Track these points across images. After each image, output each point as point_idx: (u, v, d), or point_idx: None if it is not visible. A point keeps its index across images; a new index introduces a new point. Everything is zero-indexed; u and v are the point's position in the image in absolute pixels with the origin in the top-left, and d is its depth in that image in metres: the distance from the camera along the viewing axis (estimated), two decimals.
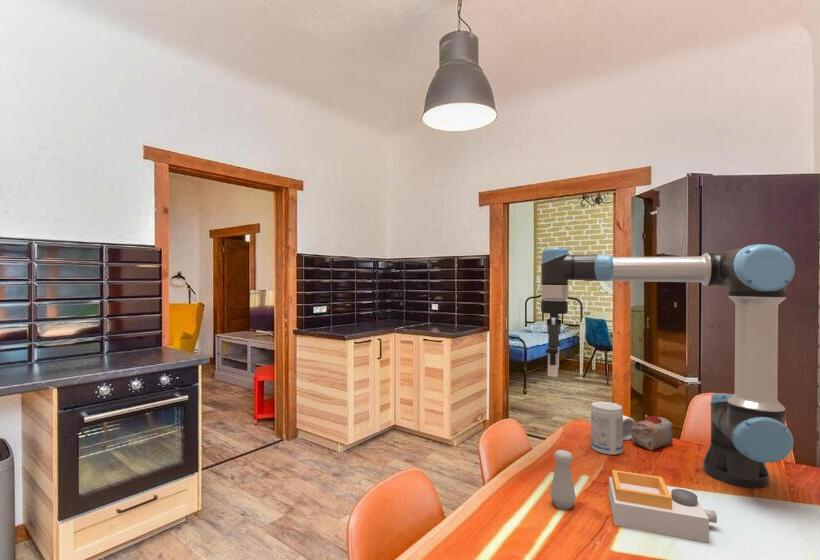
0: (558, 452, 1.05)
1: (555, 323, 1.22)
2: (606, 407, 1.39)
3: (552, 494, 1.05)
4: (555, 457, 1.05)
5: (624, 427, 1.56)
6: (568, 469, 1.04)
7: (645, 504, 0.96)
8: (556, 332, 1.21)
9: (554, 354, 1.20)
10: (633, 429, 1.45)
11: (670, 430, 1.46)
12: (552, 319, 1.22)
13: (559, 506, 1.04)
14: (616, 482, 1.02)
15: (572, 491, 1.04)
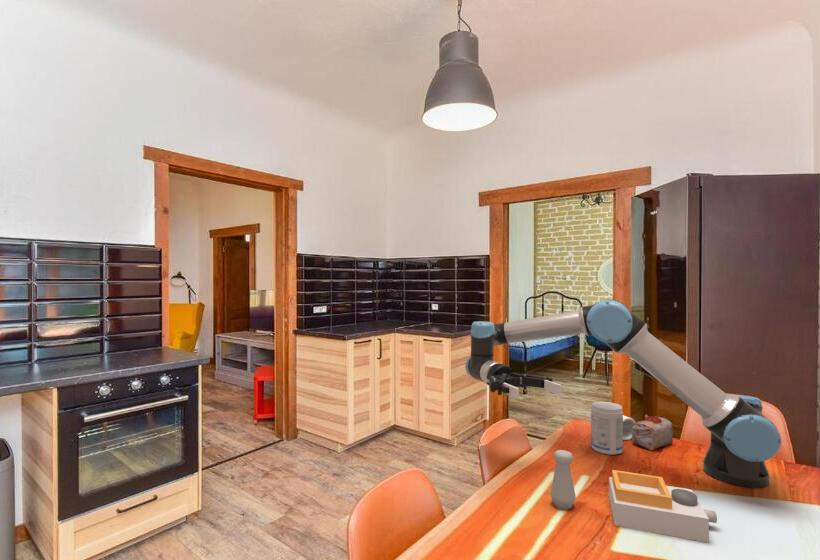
0: (558, 452, 1.05)
1: (488, 379, 1.26)
2: (606, 407, 1.39)
3: (552, 494, 1.05)
4: (555, 457, 1.05)
5: (624, 427, 1.56)
6: (568, 469, 1.04)
7: (645, 504, 0.96)
8: (489, 380, 1.24)
9: (499, 386, 1.18)
10: (633, 429, 1.45)
11: (670, 430, 1.46)
12: (486, 381, 1.28)
13: (559, 506, 1.04)
14: (616, 482, 1.02)
15: (572, 491, 1.04)
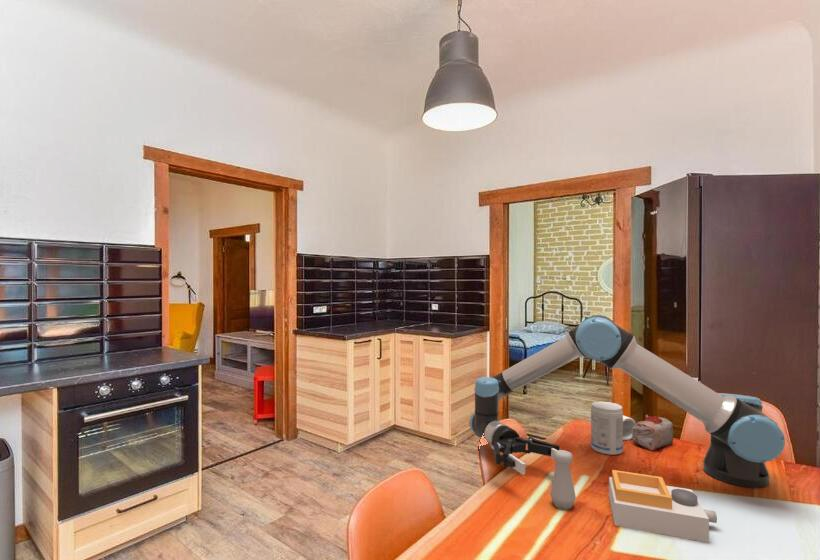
0: (558, 452, 1.05)
1: (493, 445, 1.23)
2: (606, 407, 1.39)
3: (552, 494, 1.05)
4: (555, 457, 1.05)
5: (624, 427, 1.56)
6: (568, 469, 1.04)
7: (645, 504, 0.96)
8: (494, 448, 1.20)
9: (504, 458, 1.14)
10: (634, 429, 1.45)
11: (671, 430, 1.46)
12: (491, 447, 1.24)
13: (559, 506, 1.04)
14: (616, 482, 1.02)
15: (572, 491, 1.04)
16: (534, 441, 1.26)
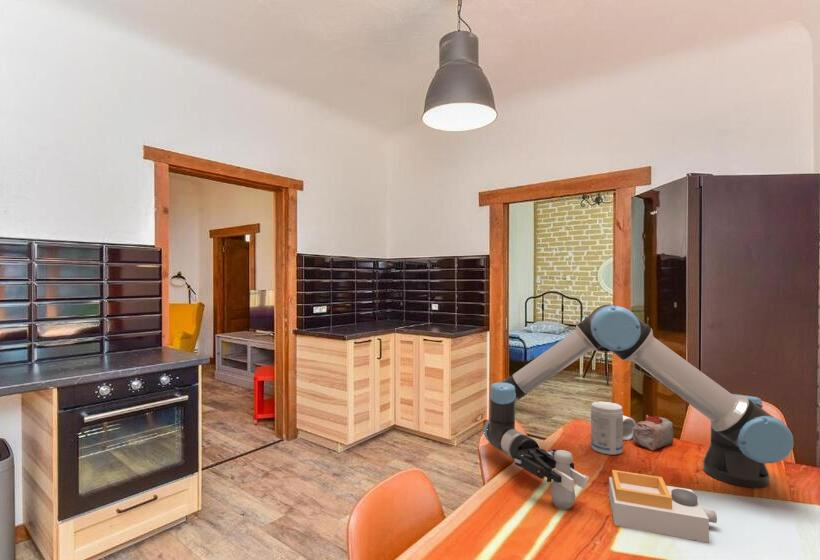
0: (558, 452, 1.05)
1: (519, 459, 1.13)
2: (606, 407, 1.39)
3: (552, 494, 1.05)
4: (555, 457, 1.05)
5: (624, 427, 1.56)
6: (568, 469, 1.04)
7: (645, 504, 0.96)
8: (526, 462, 1.10)
9: (549, 472, 1.05)
10: (634, 429, 1.45)
11: (671, 430, 1.46)
12: (515, 461, 1.13)
13: (559, 506, 1.04)
14: (616, 482, 1.02)
15: (572, 491, 1.04)
16: None
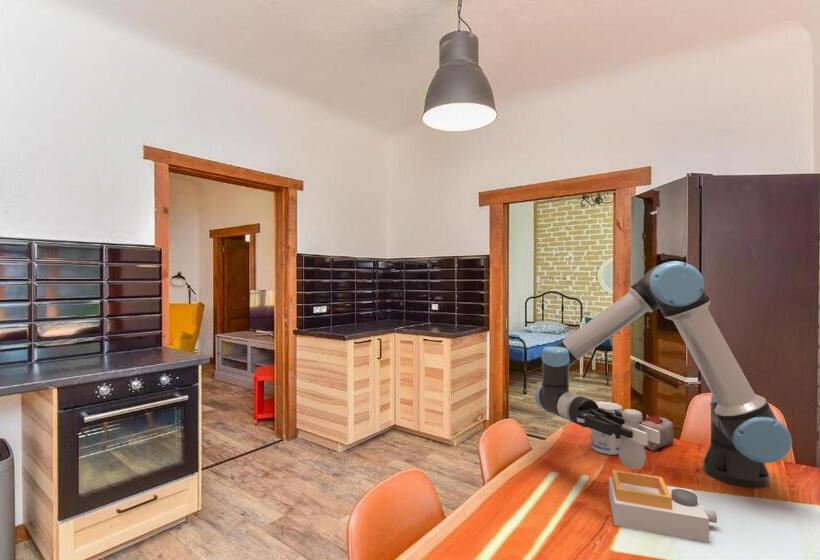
0: (627, 411, 1.02)
1: (582, 418, 1.09)
2: (606, 407, 1.39)
3: (621, 454, 1.02)
4: (624, 416, 1.02)
5: None
6: (638, 428, 1.01)
7: (645, 504, 0.96)
8: (591, 420, 1.07)
9: (618, 429, 1.02)
10: None
11: (671, 430, 1.46)
12: (578, 420, 1.10)
13: (629, 466, 1.01)
14: (616, 482, 1.02)
15: (643, 450, 1.00)
16: (617, 414, 1.12)
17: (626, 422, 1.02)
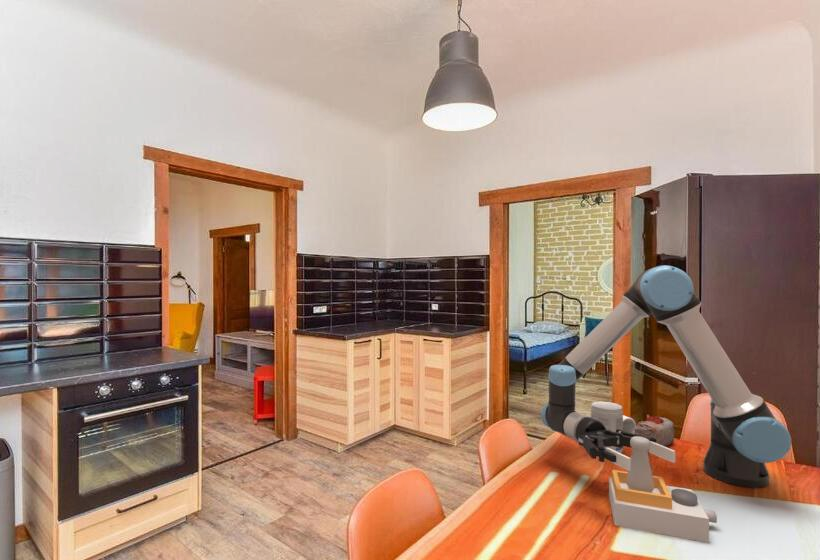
0: (635, 438, 1.02)
1: (581, 438, 1.10)
2: (606, 407, 1.39)
3: (629, 482, 1.01)
4: (632, 443, 1.01)
5: (624, 427, 1.56)
6: (646, 456, 1.00)
7: (645, 504, 0.96)
8: (585, 441, 1.08)
9: (602, 452, 1.02)
10: (636, 430, 1.45)
11: (672, 430, 1.46)
12: (578, 440, 1.11)
13: None
14: (616, 482, 1.02)
15: (651, 478, 1.00)
16: (624, 434, 1.13)
17: (634, 450, 1.02)
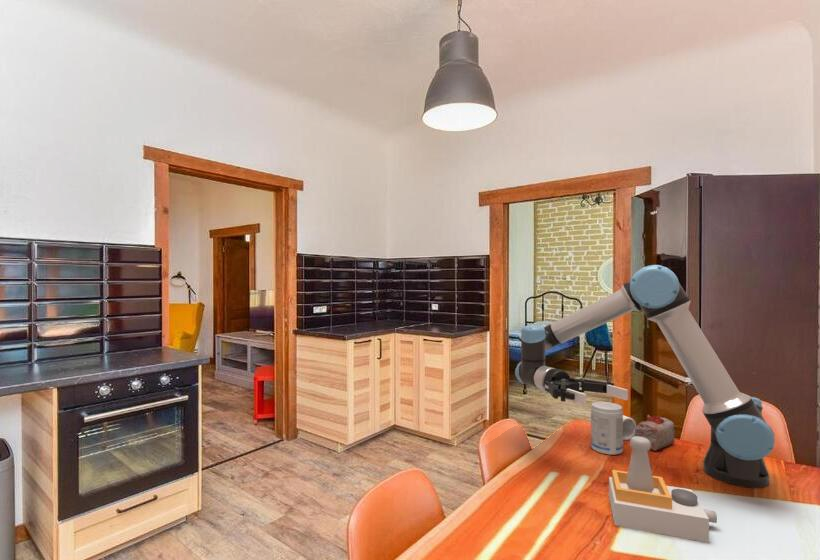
0: (635, 438, 1.02)
1: (547, 385, 1.23)
2: (606, 407, 1.39)
3: (629, 482, 1.01)
4: (632, 443, 1.01)
5: (624, 427, 1.56)
6: (646, 456, 1.00)
7: (645, 504, 0.96)
8: (549, 386, 1.20)
9: (563, 392, 1.14)
10: (636, 430, 1.45)
11: (672, 430, 1.46)
12: (545, 387, 1.24)
13: None
14: (616, 482, 1.02)
15: (651, 478, 1.00)
16: (587, 381, 1.26)
17: (634, 450, 1.02)
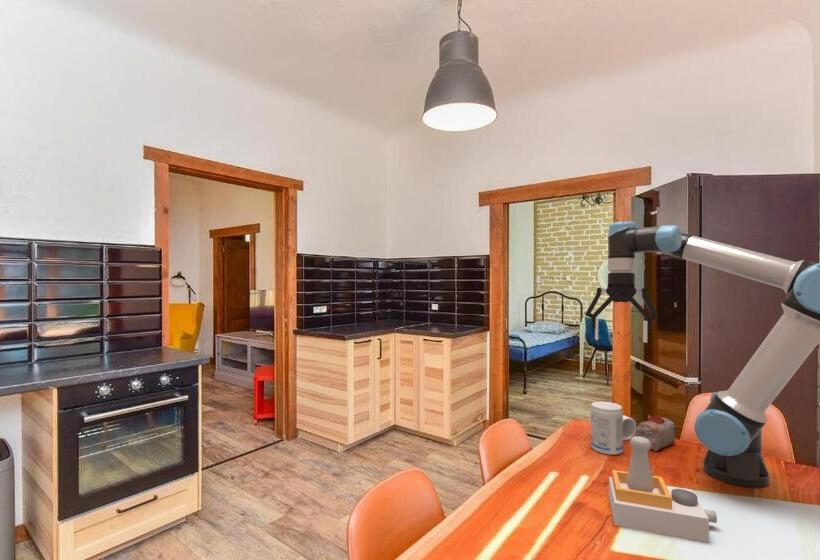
0: (635, 438, 1.02)
1: (596, 292, 1.36)
2: (606, 407, 1.39)
3: (629, 482, 1.01)
4: (632, 443, 1.01)
5: (624, 427, 1.56)
6: (646, 456, 1.00)
7: (645, 504, 0.96)
8: (593, 299, 1.36)
9: (591, 319, 1.37)
10: (637, 430, 1.45)
11: (673, 430, 1.46)
12: (597, 288, 1.37)
13: None
14: (616, 482, 1.02)
15: (651, 479, 1.00)
16: (643, 297, 1.31)
17: (634, 450, 1.02)
